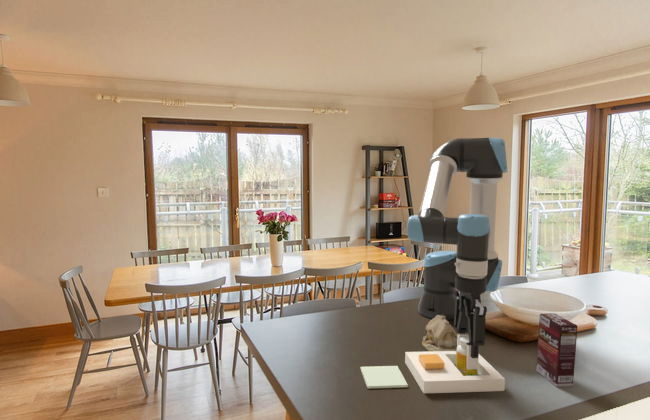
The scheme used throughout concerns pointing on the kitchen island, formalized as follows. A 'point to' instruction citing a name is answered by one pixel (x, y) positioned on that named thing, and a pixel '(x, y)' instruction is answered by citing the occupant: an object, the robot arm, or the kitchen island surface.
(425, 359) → the orange sticky note pad
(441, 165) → the robot arm
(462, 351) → the supplement bottle
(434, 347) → the ceramic model
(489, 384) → the frame
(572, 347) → the supplement box
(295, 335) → the kitchen island surface
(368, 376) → the mat
